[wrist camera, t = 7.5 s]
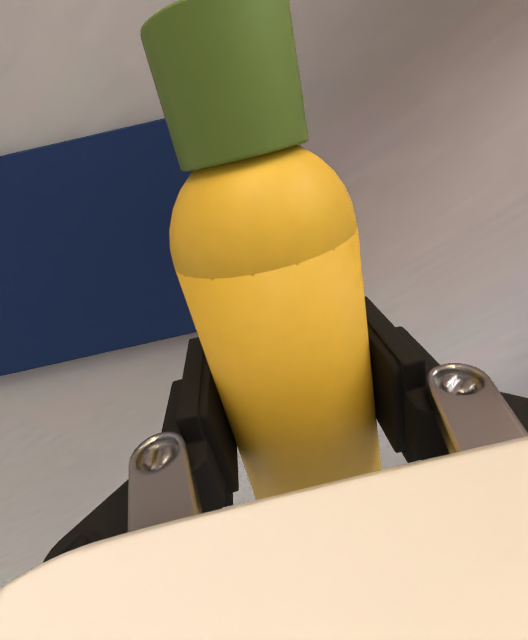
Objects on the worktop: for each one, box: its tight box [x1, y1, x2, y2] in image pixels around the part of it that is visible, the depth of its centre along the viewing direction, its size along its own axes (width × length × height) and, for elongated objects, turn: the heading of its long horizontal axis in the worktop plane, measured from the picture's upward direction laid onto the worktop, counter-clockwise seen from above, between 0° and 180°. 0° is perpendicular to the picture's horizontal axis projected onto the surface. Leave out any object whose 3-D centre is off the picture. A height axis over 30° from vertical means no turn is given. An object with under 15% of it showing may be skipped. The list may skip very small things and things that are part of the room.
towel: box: [0, 118, 197, 376], centre depth 24 cm, size 14×20×1 cm
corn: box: [141, 0, 381, 500], centre depth 10 cm, size 16×4×4 cm, turn 13°
